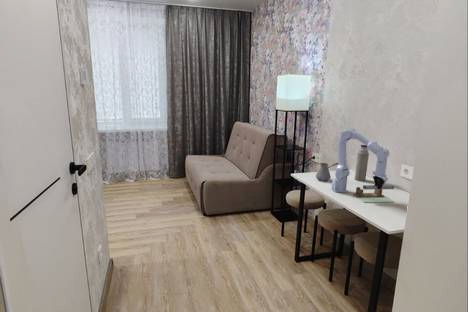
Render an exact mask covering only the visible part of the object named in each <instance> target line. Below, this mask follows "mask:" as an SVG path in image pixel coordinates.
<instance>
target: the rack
mask: <svg viewBox="0 0 468 312" xmlns="http://www.w3.org/2000/svg"><path fill="white" fill-rule="evenodd" d="M373 190H374V192H364V189H363V188H361V186H357V187H356V188H355V192H353V193H352V195H353V196H354V197H355V198H385V195H384V194H383V189H373Z"/></svg>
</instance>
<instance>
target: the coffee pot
mask: <svg viewBox="0 0 468 312" xmlns="http://www.w3.org/2000/svg"><path fill="white" fill-rule="evenodd" d="M319 164H320V167H319V169H318V170H317V172H316V174H315V177H316V179H317V180H318V181H321V182H327V181H329V180H330V179H331V173H330V171H329V168H331V167H333V166H338V162H336V163H333V164H332V165H330V164H329V163H326V162H320V163H319Z"/></svg>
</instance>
